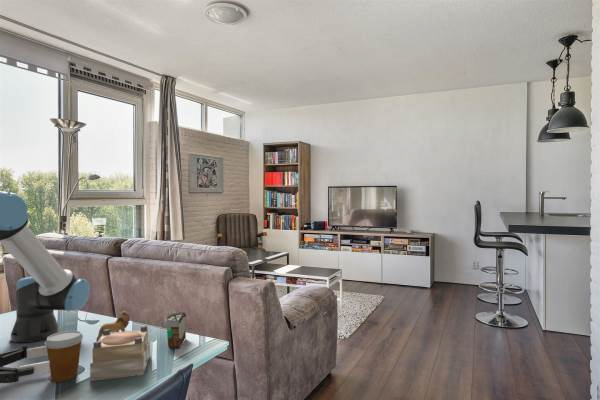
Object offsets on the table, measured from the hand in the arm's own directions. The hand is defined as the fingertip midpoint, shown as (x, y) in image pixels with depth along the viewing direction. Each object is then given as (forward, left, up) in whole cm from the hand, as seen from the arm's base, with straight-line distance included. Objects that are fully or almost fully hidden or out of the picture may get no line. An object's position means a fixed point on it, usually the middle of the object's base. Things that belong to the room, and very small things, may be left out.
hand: (51, 357), depth 106 cm
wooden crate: (-3, +18, -7) cm, 19 cm away
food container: (-19, +32, -7) cm, 38 cm away
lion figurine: (-31, +10, -7) cm, 33 cm away
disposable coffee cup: (-1, +3, -7) cm, 7 cm away
